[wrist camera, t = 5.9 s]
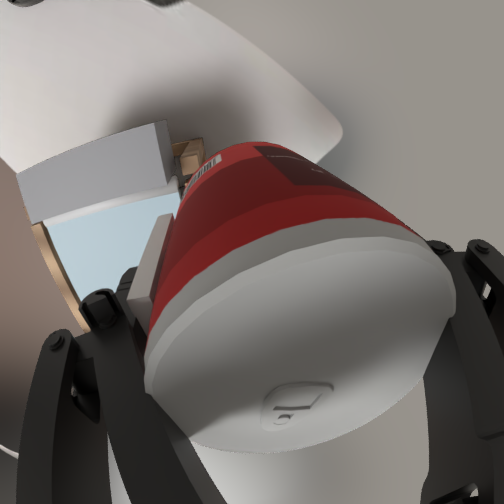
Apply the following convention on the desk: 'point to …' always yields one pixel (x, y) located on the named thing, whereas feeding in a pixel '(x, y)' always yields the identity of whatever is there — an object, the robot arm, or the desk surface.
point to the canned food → (288, 305)
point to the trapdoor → (104, 202)
